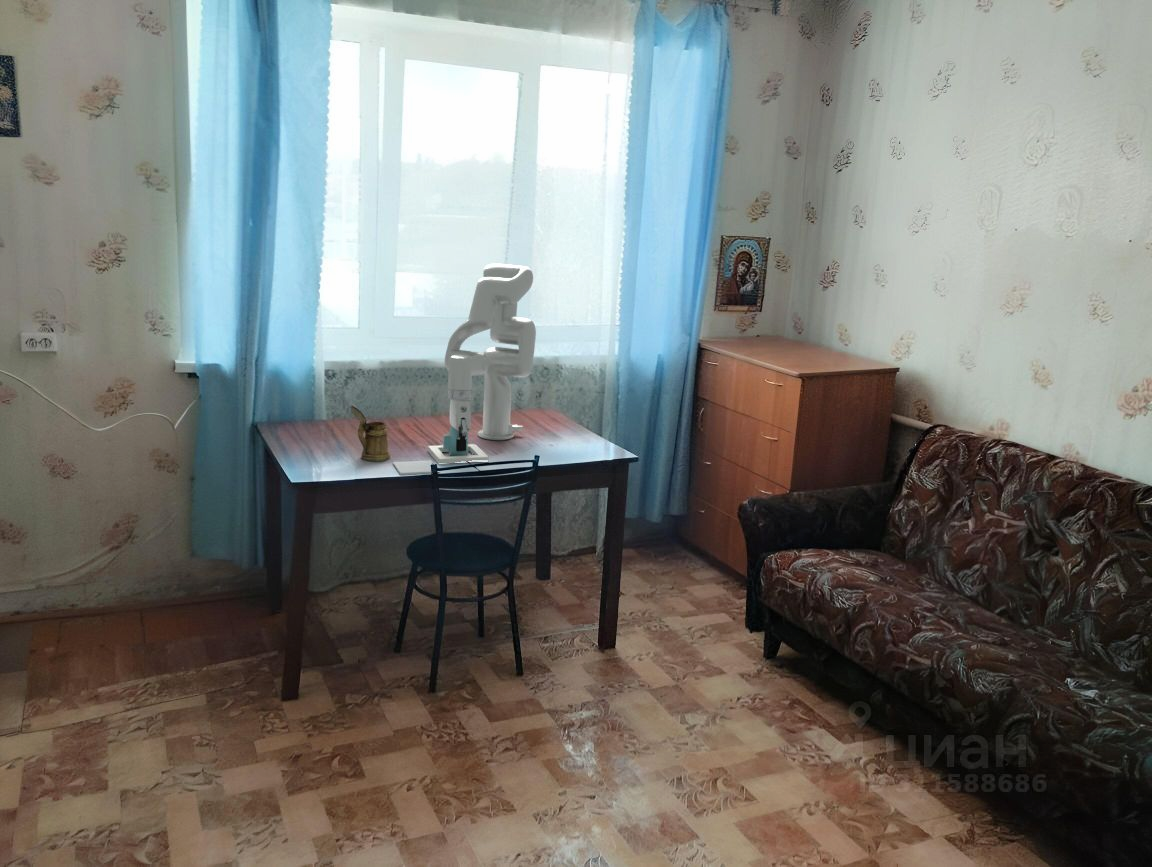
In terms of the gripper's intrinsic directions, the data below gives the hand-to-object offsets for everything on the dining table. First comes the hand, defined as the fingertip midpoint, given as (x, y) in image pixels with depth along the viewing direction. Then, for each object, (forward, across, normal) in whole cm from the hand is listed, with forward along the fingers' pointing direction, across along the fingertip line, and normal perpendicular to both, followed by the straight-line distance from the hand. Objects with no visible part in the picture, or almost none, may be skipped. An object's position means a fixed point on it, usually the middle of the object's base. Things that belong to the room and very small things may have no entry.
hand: (458, 447), depth 319 cm
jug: (+3, 0, 0) cm, 3 cm away
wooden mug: (+3, +2, +28) cm, 29 cm away
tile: (+3, -11, +16) cm, 20 cm away
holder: (+3, 0, 0) cm, 3 cm away
